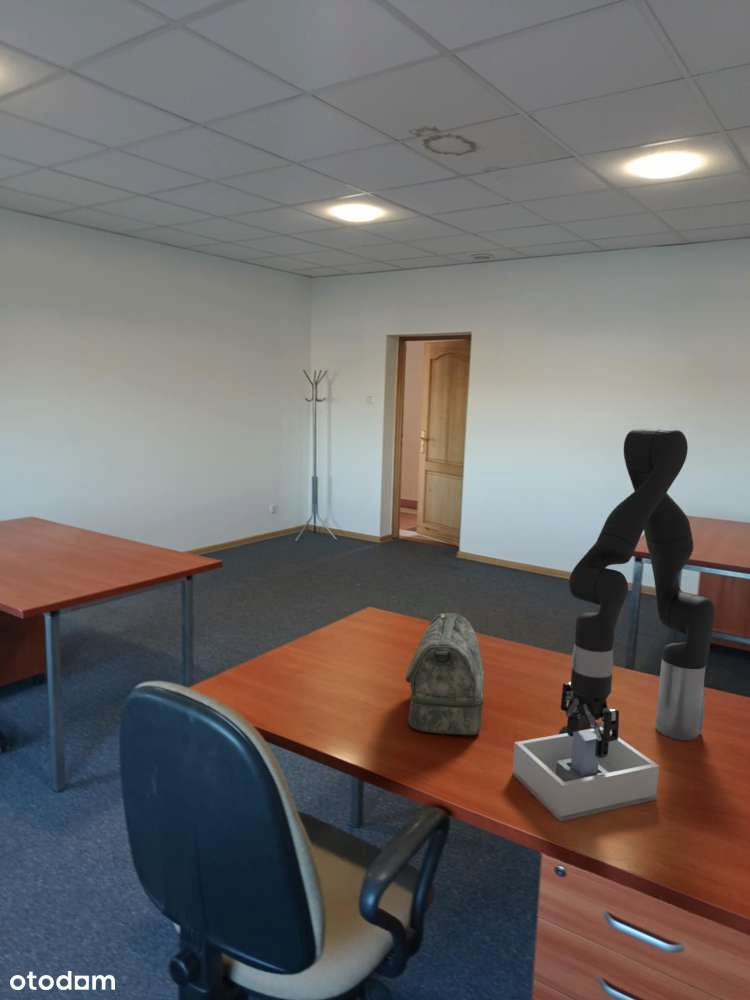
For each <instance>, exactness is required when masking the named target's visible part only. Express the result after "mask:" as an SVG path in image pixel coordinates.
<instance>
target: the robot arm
mask: <svg viewBox="0 0 750 1000" xmlns="http://www.w3.org/2000/svg"><path fill="white" fill-rule="evenodd" d="M687 440H688V439H687V437H686V435H685V434H684V433H683V431H681V430H678V429H673V428H653V427H652V428H644V427H643V428H634V429H631V430H630V431H628V433H627V435H626V436H625V438H624V442H623V458H624V463H625V466H626V467H625V468H626V470H627V473H628V476H629V479H630V482H631V484H632V485H631V486H632V489H633V490H634V491H633V492H632V493H631V494H630V495H629V496H627V497H626V498H625V499H624V500H622V501H620V502H619V504H618V505H616V507H614V508H613V510H611V512H610V513H609V514H608V516H607V518H606V519H605V522H604V524H603V527H602V529H601V531H600V533H599V535H598V537H597V539H596V542H595V543H594V544H593V545H592V546H591V547H590V549H589V550H588V551H587V552H586V553H585V554H584V556H582V558H581V559H580V560H579V562H578V563H576V565H575V566H574V567H573V570H572V571H571V573H570V576H569V580H568V587H569V592H570V594H571V595H572V596H573V597H574V598H575V599H578V600H580V601H585V602H589V603H591V604H596V605H598V606H600V607H599V610H598V612H583V613H580V614H579V615H578V616H577V617H576V621H575V631H574V632H575V633H574V634H575V636H574V645H573V650H572V656H571V657H572V658H571V672H570V681H569V682H565V683H563V684H562V690H561V691H562V692H561V700H560V701H561V702H560V709H561V711H563V712H565V716H566V718H567V725H566V727H567V734H568V735H569V736H570V737H572V736H573V732H576V731H579V719H580V718H579V717H577V716H579V715H582V716H584V717H585V718H586V719H587V720H589V722H590V725H591V726H590V725H589V726H590V728H591V729H594V730H595V733H596V736H597V739H596V749H595V756H596V757H597V758H603V757H606V756H607V754H608V746H609V742H610V741H615V740H618V737H619V723H620V711H619V710H618V709H617V708H615V709H614V708H613V709H611V708H610V707H609V706H608V702H607V699H608V697H609V696H610V694H611V693H612V682H613V671H614V670H613V669H614V642H615V641H614V639H615V630H616V625H617V622H618V619H619V615H620V614H621V611H622V609H623V605H624V602H626V599H627V596H628V593H629V592H628V591H629V584H628V580H627V578H626V576H625V575H624V574H623V573H622V572H621V571H619V570H616V569H613V568H611V569H610V568H608V567H609V566H613V565H625V564H627V563H629V562H630V560H632V557H633V555H634V553H635V550H636V548H637V546H638V544H639V541H640V539H641V537H642V534H643V532H644V538H645V542H646V547H647V550H648V553H649V558H650V562H651V569H652V573H653V580H654V587H655V599H656V610H657V616H658V619H659V621H660V623H661V625H662V626H663V627H665V628H667V629H669V630H671V631H675V632H676V633H677V632H678V633H681V634H684V635H686V639H685V640H686V641H685V642H672V643H668V644H666V645H664V646H663V648H662V653H661V665H660V673H659V683H658V685H659V686H658V694H657V695H658V696H657V704H656V715H655V725H654V726H655V730H656V731H657V732H658V733H660V734H661V735H663V736H665V737H668V738H669V739H674V740H678V741H685V740H688V741H694V740H696V739H698V738H699V734H700V735H702V734H703V723H704V714H705V704H706V695H705V694H704V684H705V676H706V674H705V673H706V666H707V660H708V659H707V658H708V656H709V653H710V648H711V642H712V635H713V629H714V624H715V619H716V618H715V617H716V616H715V615H716V608H715V605H714V602H713V601H712V600H711V599H709V598H708V597H704V596H700V595H697V594H694V593H689V592H686V591H683V590H682V589H681V588H680V584H679V575H680V572H681V571H682V570H683V568H684V567H685V566H686V565H687V563H688V562H689V560H690V558H691V557H692V554H693V552H694V540H693V532H692V528H691V524H690V520H689V519H688V516H687V514H686V513H685V512H684V511H683V509H682V508H681V507H680V506H679V504H678V503H676V501H675V500H674V499H673V498H672V497H671V496H670V495H669V494H668V493H667V492H668V491H669V489H670V487H671V486H672V485H673V483H674V482H675V480H676V479H677V477H678V475H679V474H680V472H681V471H682V469H683V466H684V465H685V463H686V459H687V456H688V447H689V446H688V441H687ZM600 719H601V721H600V722H597V721H598V720H600ZM600 727H602V728H603V733H601V730H600ZM610 732H612V734H611V733H610Z"/></svg>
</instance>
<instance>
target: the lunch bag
mask: <svg viewBox="0 0 750 1000" xmlns="http://www.w3.org/2000/svg"><path fill="white" fill-rule="evenodd" d="M438 614H439V615H435V616H434V618H433V619H432V620H431V622H430V623H429V624H428V627H427V629H426V630H425V631H424V633H423V635H422V637H421V638H420V640H419V643H418V644H417V647H416V649H415V652H414V654H413V657H412V659H411V661H410V663H409V666H408V670H407V671H406V677H405V681H406V683H409V684H410V690H411V693H410V694H411V695H410V707H409V712H408V725H409V727H411V728H413V729H414V730H415V731H416V730H417V731H420V732H421V733H430V734H441V735H456V736H457V735H458V736H475V735H478V734H480V731H481V729H482V715H483V713H482V712H483V704H484V685H485V676H484V675H485V671H484V667H483V663H482V661H483V660H482V652H481V649H480V644H479V640H478V636H477V635H476V631H475V630H474V628H473V626H472V625H471V623H470V621H468V619H467V618H466V617H464V616H462V615H461V614H458V613H454V612H448V613H443V612H440V613H438Z"/></svg>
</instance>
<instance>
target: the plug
mask: <svg viewBox="0 0 750 1000" xmlns="http://www.w3.org/2000/svg"><path fill="white" fill-rule="evenodd" d="M589 729H590V728H586V730H581V731H576V732H573V744H572V757H571V769H573V770H574V771H575V772H576V773H577V774H578V775H580V776H581V777H583V776H588V775H593V774H597V773H598V761H599V758H597V757H596V756H595V749H596V739H597V736H596V734H594V733H593V732H592V731H590V730H589Z"/></svg>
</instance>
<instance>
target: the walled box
mask: <svg viewBox="0 0 750 1000" xmlns="http://www.w3.org/2000/svg"><path fill="white" fill-rule="evenodd" d="M588 729H589V730H590V731H592V732H593V733H594V734H596V733H595V730H594V729H593V728H588ZM600 730H601V733H603V728H602V727H600ZM610 733H611V734H612V731H610ZM572 744H573V736H572V737H570V736H569V735H568V734H567V733H565V734H559V733H558V734H553V735H549V736H544V737H537V738H532V739H526V740H519V741H514V747H513V748H514V749H513V764H512V776H513V777H515V778H516V780H518V781H519V782H520V783H521V785H523V786H524V787H525V788H526V789H527V790H528V791H529V792H530V793H531V794H532V795H533V796H534V797H535V798H536V799H537V800H538V801H539V802H540V803H541V804H542V805H543V807H545V808H546V809H547V810H548V811H549V812H550V813H551V814H552V815H553V816H554V818H555V819H557V820H558V821H559V822H565V821H568V820H569V821H570V820H574V819H578V818H582V817H587V816H592V815H596V814H600V813H605V812H608V811H612V810H616V809H622V808H625V807H629V806H635V805H638V804H642V803H646V802H651V801H656V800H657V792H658V783H659V782H658V780H659V770H660V766H659V764H657V763H656V762H654V761H653V760H651V759H650V758H649V757H647V756H646V755H644V754H643V753H642V752H640V751H639V750H637V749H636V748H634V747H633V746H631V745H630V744H628V743H627V742H626V741H624V740H623V739H622V738H620V737H619V736H618V740H615V741H610V742H609V746H608V754H607V756H606V757H603V758H599V761H598V773H597V774H593V775H588V776H583V777H581V776H580V775H578V774H577V773H576V772H575V771H574V770H573V769H571V757H572Z"/></svg>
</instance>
